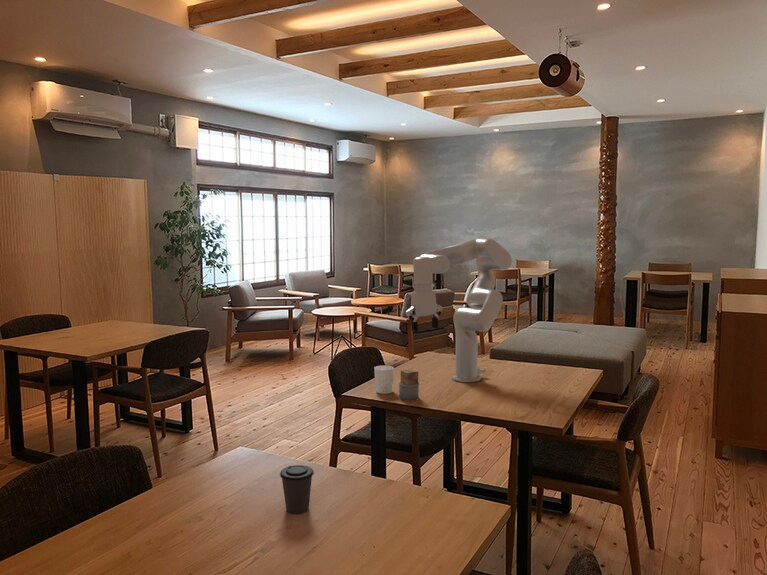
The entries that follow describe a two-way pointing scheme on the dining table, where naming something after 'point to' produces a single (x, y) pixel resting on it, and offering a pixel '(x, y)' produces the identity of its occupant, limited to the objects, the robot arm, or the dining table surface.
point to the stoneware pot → (408, 392)
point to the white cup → (384, 379)
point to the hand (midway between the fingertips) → (425, 329)
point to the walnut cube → (409, 377)
